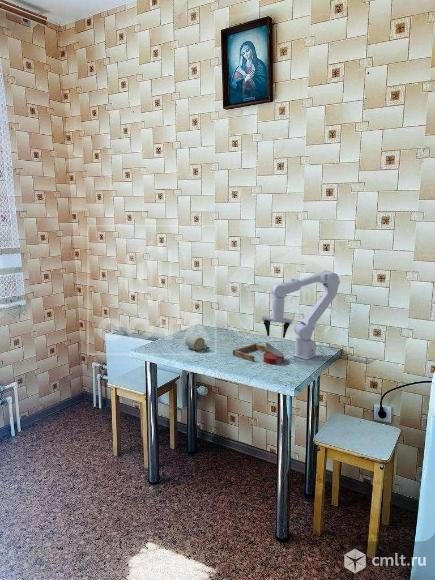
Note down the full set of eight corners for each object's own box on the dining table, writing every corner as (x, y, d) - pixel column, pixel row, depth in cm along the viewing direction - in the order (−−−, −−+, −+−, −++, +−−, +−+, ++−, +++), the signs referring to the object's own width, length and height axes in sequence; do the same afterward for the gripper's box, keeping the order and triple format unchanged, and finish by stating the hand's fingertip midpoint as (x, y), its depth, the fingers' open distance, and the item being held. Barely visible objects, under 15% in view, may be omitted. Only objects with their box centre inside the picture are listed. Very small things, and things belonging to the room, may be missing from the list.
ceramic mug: (194, 352, 222) (194, 337, 220) (185, 348, 228) (185, 334, 227) (210, 348, 229) (210, 334, 227) (200, 344, 235) (201, 331, 233)
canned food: (270, 366, 215) (276, 347, 217) (286, 370, 207) (291, 349, 209) (255, 360, 208) (261, 340, 210) (270, 363, 200) (276, 342, 202)
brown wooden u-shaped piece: (274, 353, 219) (275, 349, 218) (252, 361, 208) (252, 356, 207) (255, 348, 228) (255, 343, 228) (232, 355, 217) (232, 350, 217)
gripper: (294, 309, 211) (292, 336, 214) (265, 306, 216) (263, 332, 218) (291, 312, 205) (289, 340, 207) (261, 308, 209) (259, 336, 212)
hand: (276, 336), depth 212 cm, fingers open, 7 cm apart
